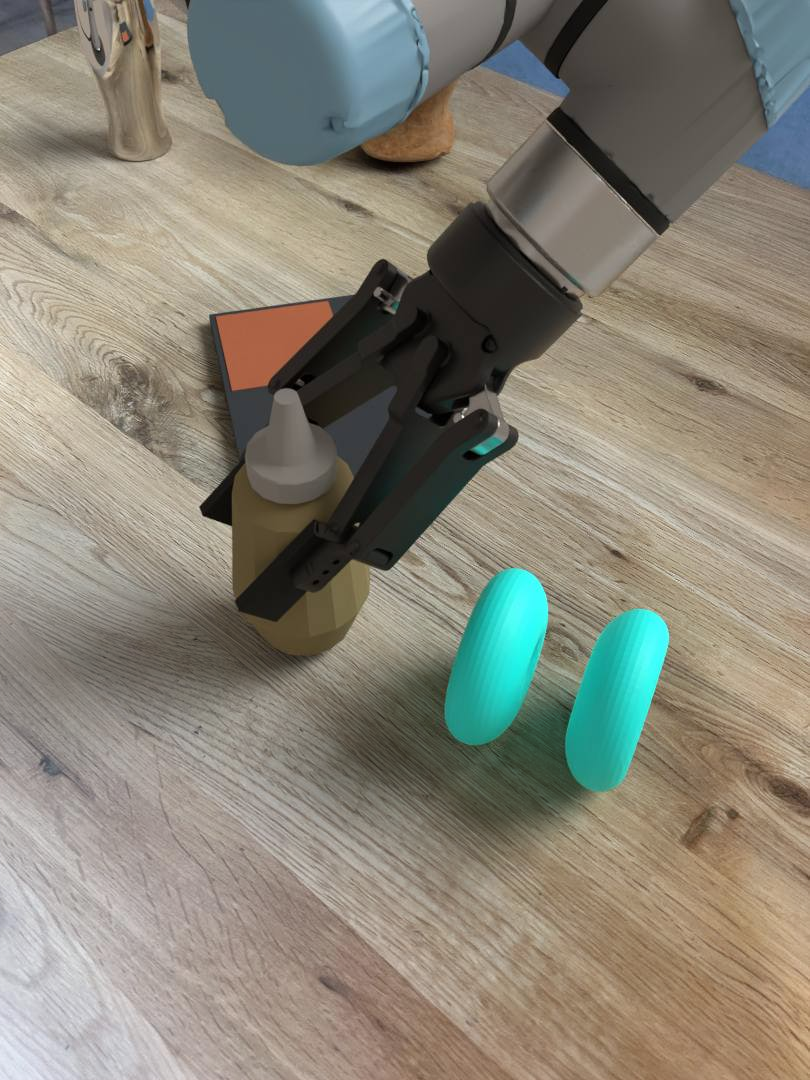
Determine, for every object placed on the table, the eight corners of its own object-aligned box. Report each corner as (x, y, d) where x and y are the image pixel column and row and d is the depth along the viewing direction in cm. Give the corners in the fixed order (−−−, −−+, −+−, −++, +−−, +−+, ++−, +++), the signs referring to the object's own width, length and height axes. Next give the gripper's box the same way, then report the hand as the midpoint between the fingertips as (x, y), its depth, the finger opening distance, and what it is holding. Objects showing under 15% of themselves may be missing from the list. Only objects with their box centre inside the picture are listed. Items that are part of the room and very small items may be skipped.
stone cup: (482, 168, 100) (495, 4, 88) (357, 175, 99) (354, 10, 87) (455, 91, 110) (464, -65, 98) (341, 97, 108) (337, -61, 97)
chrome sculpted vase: (170, 122, 104) (144, -39, 93) (183, 157, 100) (157, -7, 89) (99, 133, 103) (63, -30, 92) (109, 169, 99) (73, 3, 87)
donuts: (492, 632, 65) (507, 524, 57) (651, 686, 62) (689, 582, 55) (432, 766, 59) (440, 666, 51) (606, 832, 56) (641, 737, 49)
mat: (210, 324, 84) (208, 313, 83) (404, 297, 87) (405, 286, 86) (248, 504, 71) (246, 493, 70) (474, 466, 74) (475, 455, 73)
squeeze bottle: (295, 547, 68) (275, 322, 54) (397, 606, 65) (403, 385, 51) (210, 629, 64) (165, 408, 50) (315, 697, 61) (298, 481, 47)
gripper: (679, 408, 47) (343, 715, 55) (493, 185, 58) (238, 466, 67) (593, 340, 41) (234, 692, 50) (407, 109, 53) (140, 426, 61)
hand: (237, 562), depth 58 cm, fingers closed on squeeze bottle, 6 cm apart
